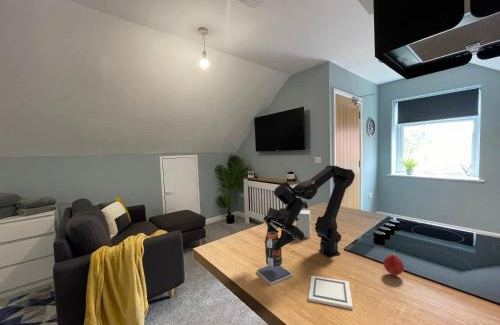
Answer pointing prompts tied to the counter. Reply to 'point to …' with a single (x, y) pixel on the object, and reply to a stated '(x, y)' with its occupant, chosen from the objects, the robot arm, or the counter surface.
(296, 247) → the counter surface
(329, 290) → the board
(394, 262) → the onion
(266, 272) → the ink pad
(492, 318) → the counter surface
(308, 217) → the supplement box
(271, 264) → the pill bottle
